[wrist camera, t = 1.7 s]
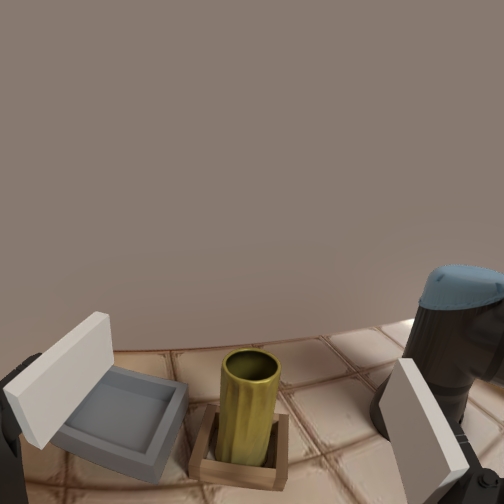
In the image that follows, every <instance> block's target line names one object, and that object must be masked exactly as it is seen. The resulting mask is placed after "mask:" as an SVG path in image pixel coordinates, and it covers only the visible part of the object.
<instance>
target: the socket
mask: <svg viewBox="0 0 504 504" xmlns="http://www.w3.org/2000/svg"><path fill="white" fill-rule="evenodd" d="M219 415H220V406H217V405H211V404H208V405H207V408H206V411H205V414H204V417H203V420H202V423H201V426H200V430H199V433H198V436H197V439H196V442H195V445H194V448H193V451H192V454H191V457H190V460H189V464H188V468H189V478H190V479H195V480H200V481H205V482H210V483H216V484H221V485H228V486H234V487H242V488H250V489H259V490H269V491H283V489H284V486H285V484H286V481H287V479H288V427H289V415H285V414H275V413H274V415H273V421H272V427H271V432H270V435H274V436H275V443H274V459H273V469H271V468H261V467H252V466H244V465H237V464H230V463H224V462H218V461H213V460H207V459H206V458H207V454H208V451H209V447H210V443H211V440H212V436H213V432H214V429H215V428H219Z"/></svg>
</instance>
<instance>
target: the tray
mask: <svg viewBox="0 0 504 504" xmlns="http://www.w3.org/2000/svg"><path fill="white" fill-rule="evenodd" d="M188 406H189V394H188V384H186V383H181V382H176V381H172V380H167V379H163V378H158V377H154V376H150V375H146V374H142V373H138V372H134V371H131V370H127V369H123V368H120V367H116V366H113V365H112V366H111V367H110V368H109V369H108V371H107V372H106V373H105V374H104V375H103V377H102V378H101V379H100V380H99V381H98V382H97V384H96V385H95V386H94V387H93V388H92V389H91V391H90V392H89V393H88V394H87V395H86V397H85V398H84V399H83V400H82V401H81V403H80V404H79V405H78V406H77V407H76V409H75V410H74V411H73V412H72V413H71V415H70V416H69V417H68V418H67V420H66V421H65V422H64V423H63V424H62V426H61V427H60V428H59V429H58V431H57V432H56V433H55V434H54V435H53V437H52V438H51V439H50V442H51V443H52V444H54V445H56V446H58V447H60V448H62V449H64V450H66V451H68V452H70V453H72V454H74V455H77V456H79V457H81V458H83V459H86V460H88V461H90V462H93V463H95V464H98V465H100V466H103V467H105V468H108V469H111V470H113V471H116V472H119V473H122V474H124V475H127V476H130V477H133V478H136V479H139V480H143V481H146V482H149V483H153V484H156V485H158V483H159V480H160V477H161V475H162V472H163V470H164V467H165V465H166V462H167V460H168V457H169V454H170V452H171V449H172V447H173V444H174V442H175V439H176V437H177V434H178V431H179V429H180V426H181V424H182V421H183V419H184V416H185V414H186V411H187V409H188Z"/></svg>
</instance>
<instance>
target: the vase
mask: <svg viewBox="0 0 504 504" xmlns="http://www.w3.org/2000/svg"><path fill="white" fill-rule="evenodd" d="M280 373H281V363H280V361H279V360H278V359H277V358H276V357H275V356H274V355H273V354H271V353H269V352H267V351H265V350H262V349H258V348H239V349H236V350H234V351H232V352H230V353H229V354H227V355H226V356H225V358H224V360H223V363H222V368H221V387H220V415H219V430H218V437H217V444H216V448H215V457H216V459H217V461H218V462H224V463H230V464H237V465H244V466H252V467H261V466H262V465H263V464H264V463H265V462H266V460H267V456H268V451H267V447H268V443H269V438H270V432H271V427H272V421H273V415H274V409H275V403H276V396H277V391H278V386H279V380H280Z"/></svg>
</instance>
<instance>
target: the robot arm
mask: <svg viewBox="0 0 504 504" xmlns="http://www.w3.org/2000/svg"><path fill="white" fill-rule="evenodd" d="M113 364H114V356H113V348H112V339H111V330H110V320H109V315H108V314H105V313H101V312H97V311H95V312H94V313H93V314H92V315H90V316H89V317H88V318H87V319H85V320H84V321H83V322H81V323H80V324H79V325H78V326H76V327H75V328H74V329H73V330H71V331H70V332H69V333H68V334H67V335H65V336H64V337H63V338H62V339H60V340H59V341H58V342H57V343H56V344H54V345H53V346H52V347H51V348H49V349H48V350H47V351H46V352H45V353H43V354H42V353H38V354H35V355H33V356H30V357H29V358H27V359H26V360H25V361H24V362H23V363H22V365H21V364H20V365H19V366H18V367H16V370H15V369H14V370H13V371H12V372H11V373H9V374H8V375H7V376H6V377H4V378H3V379H2V380H1V381H0V504H29V503H28V498H27V493H26V487H25V480H24V473H23V465H22V455H21V443H20V439H19V437H18V436H19V435H20V434H21V432H23V434H24V436H25V438H26V440H27V442H29V443H30V444H32V445H34V446H35V447H37V448H39V449H41V450H42V449H43V448H44V447H45V445H46V444H47V443H48V442H49V440H50V439H51V438H52V437H53V435H54V434H55V433H56V432H57V431H58V429H59V428H60V427H61V426H62V424H63V423H64V422H65V421H66V420H67V418H68V417H69V416H70V415H71V413H72V412H73V411H74V410H75V409H76V407H77V406H78V405H79V404H80V403H81V401H82V400H83V399H84V398H85V397H86V395H87V394H88V393H89V392H90V391H91V389H92V388H93V387H94V386H95V385H96V384H97V382H98V381H99V380H100V379H101V378H102V377H103V375H104V374H105V373H106V372H107V371H108V369H109V368H110V367H111V366H112V365H113ZM475 378H477V379H480V380H483V381H485V382H488V383H491V384H493V385H496V386H498V387H501V388H504V274H503V273H499V272H496V271H494V270H491V269H487V268H482V267H475V266H467V265H446V266H441V267H438V268H436V269H435V270H433V271H432V272H431V273H430V275H429V277H428V279H427V282H426V285H425V288H424V291H423V294H422V296H421V298H420V299H419V307H418V311H417V314H416V317H415V320H414V323H413V326H412V329H411V333H410V336H409V338H408V341H407V344H406V347H405V350H404V353H403V355H402V358H397V361H396V363H395V366H394V369H393V371H392V373H391V374H390V375H389V376H388V378H387V379H386V380H385V381H384V383H382V384H381V385H380V386H379V388H378V389H377V391H376V393H375V395H374V398H373V400H372V402H371V406H370V415H371V418H372V421H373V423H374V425H375V426H376V428H377V429H378V431H379V432H380V433H381V434H382V435H383V436H385V437H386V438H387V439H388V440H390V441H391V444H392V448H393V451H394V454H395V458H396V461H397V465H398V468H399V472H400V475H401V479H402V483H403V486H404V490H405V494H406V498H407V502H408V504H504V478H499V476H498V475H497V473H496V472H495V471H493V470H491V469H488V468H482V466H481V464H480V462H479V460H478V458H477V456H476V454H475V452H474V450H473V449H472V447H471V445H470V443H468V439H467V437H466V435H464V434H465V433H464V432H463V430H462V428H461V424H462V421H463V416H464V411H465V408H466V403H467V399H468V393H469V390H470V388H471V386H472V384H473V382H474V380H475Z"/></svg>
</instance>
